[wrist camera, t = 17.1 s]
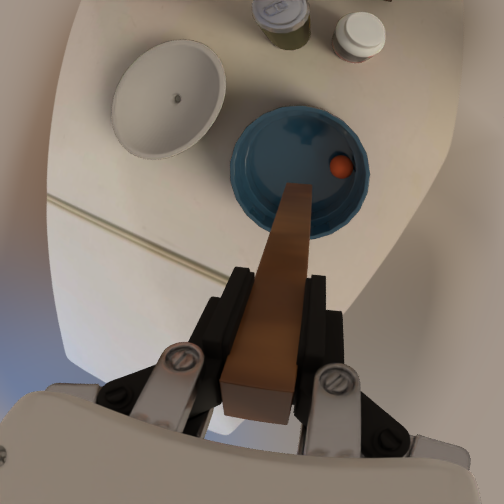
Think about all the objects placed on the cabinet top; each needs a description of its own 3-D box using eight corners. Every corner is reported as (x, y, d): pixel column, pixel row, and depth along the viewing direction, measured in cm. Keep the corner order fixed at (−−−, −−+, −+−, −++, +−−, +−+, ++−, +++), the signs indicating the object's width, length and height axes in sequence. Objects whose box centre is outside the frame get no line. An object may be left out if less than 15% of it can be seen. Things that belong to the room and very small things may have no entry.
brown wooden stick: (312, 184, 22) (294, 392, 7) (310, 208, 23) (287, 425, 8) (286, 182, 23) (218, 380, 7) (285, 206, 24) (223, 415, 8)
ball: (337, 157, 37) (356, 155, 35) (339, 179, 37) (358, 178, 35) (324, 155, 35) (343, 152, 33) (325, 179, 36) (345, 177, 33)
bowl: (365, 111, 33) (376, 113, 27) (353, 224, 41) (358, 246, 35) (242, 102, 35) (229, 103, 30) (242, 214, 43) (231, 234, 38)
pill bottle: (368, 69, 30) (386, 60, 22) (327, 56, 30) (332, 43, 22) (376, 34, 27) (396, 16, 19) (335, 21, 27) (343, -2, 19)
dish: (193, 23, 30) (178, 16, 26) (260, 95, 34) (253, 95, 30) (113, 107, 38) (93, 111, 34) (168, 173, 42) (152, 183, 38)
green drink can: (281, 57, 31) (268, 40, 21) (260, 26, 30) (238, -1, 19) (318, 40, 29) (321, 16, 19) (296, 8, 27) (289, -26, 17)
